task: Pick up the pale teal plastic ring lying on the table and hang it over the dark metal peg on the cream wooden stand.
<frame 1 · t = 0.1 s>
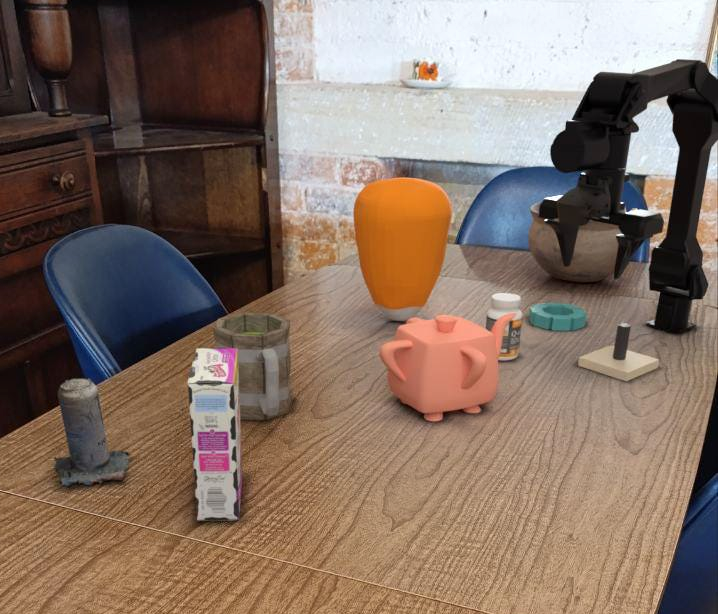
hand: (591, 272, 136), 15 cm above the table, tool pointing down, fingers open, 9 cm apart
peg stand: (617, 367, 141), on the table
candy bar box: (222, 499, 101), on the table
pill bottle: (500, 356, 145), on the table
grey upright cylinder: (96, 474, 106), on the table
ring: (556, 322, 161), on the table
mug: (260, 413, 123), on the table
ceramic bowl: (574, 279, 188), on the table
teapot: (445, 405, 126), on the table
orange egg-shaped ornament: (398, 322, 160), on the table
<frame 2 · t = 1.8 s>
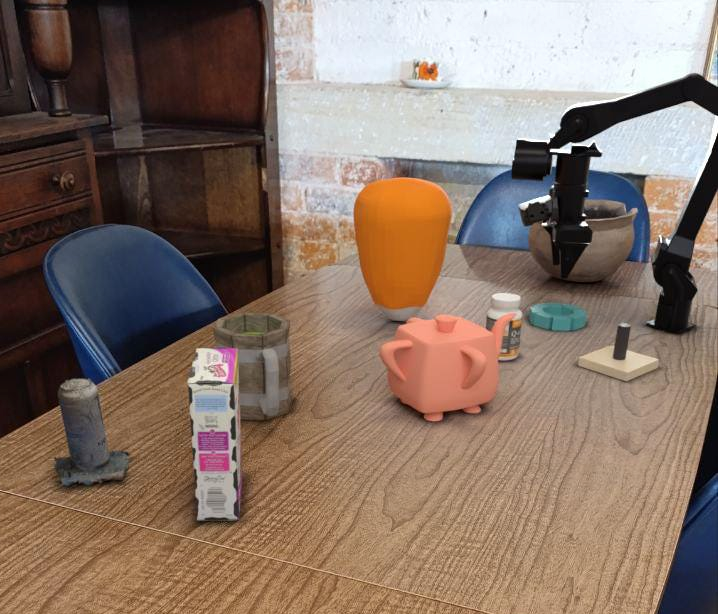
hand: (559, 271, 160), 8 cm above the table, tool pointing down, fingers open, 9 cm apart
nothing on the table moved.
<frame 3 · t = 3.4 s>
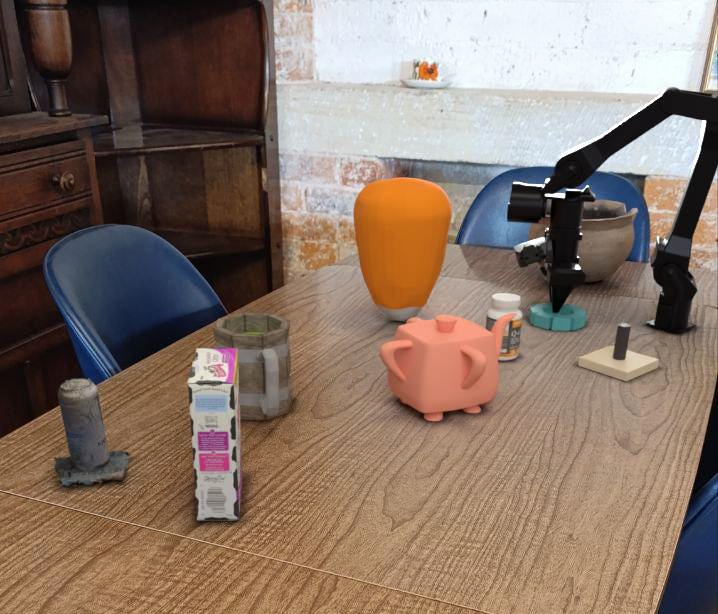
hand: (554, 310, 164), 1 cm above the table, tool pointing down, fingers closed on ring, 2 cm apart
ring: (556, 322, 161), on the table, touching gripper
everything else where it was.
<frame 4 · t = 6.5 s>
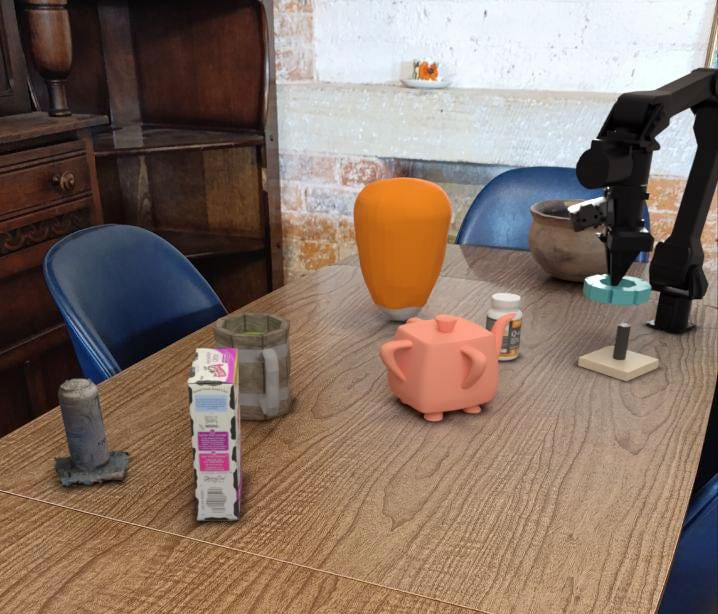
hand: (612, 283, 142), 12 cm above the table, tool pointing down, fingers closed on ring, 2 cm apart
ring: (615, 296, 139), point 11 cm above the table, touching gripper
everything else where it was.
when the fingers open (5 cm above the table, at t = 9.5 s): ring drops 3 cm, resting on peg stand.
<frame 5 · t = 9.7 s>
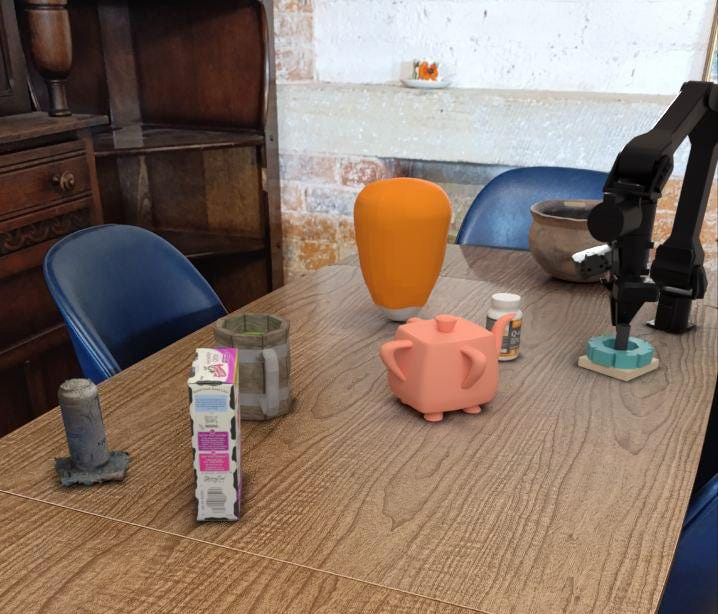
hand: (617, 329, 142), 5 cm above the table, tool pointing down, fingers open, 3 cm apart
ring: (618, 357, 140), point 1 cm above the table, touching peg stand
everything else where it was.
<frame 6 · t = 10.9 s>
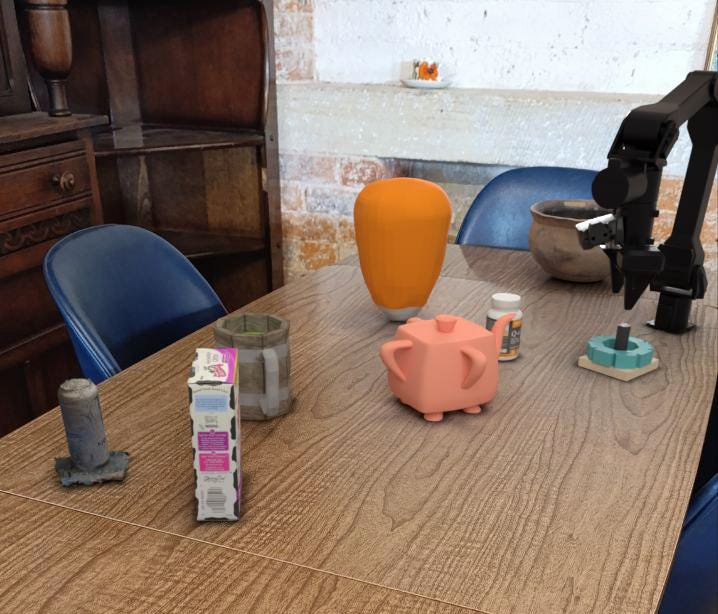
hand: (621, 301, 140), 10 cm above the table, tool pointing down, fingers open, 9 cm apart
nothing on the table moved.
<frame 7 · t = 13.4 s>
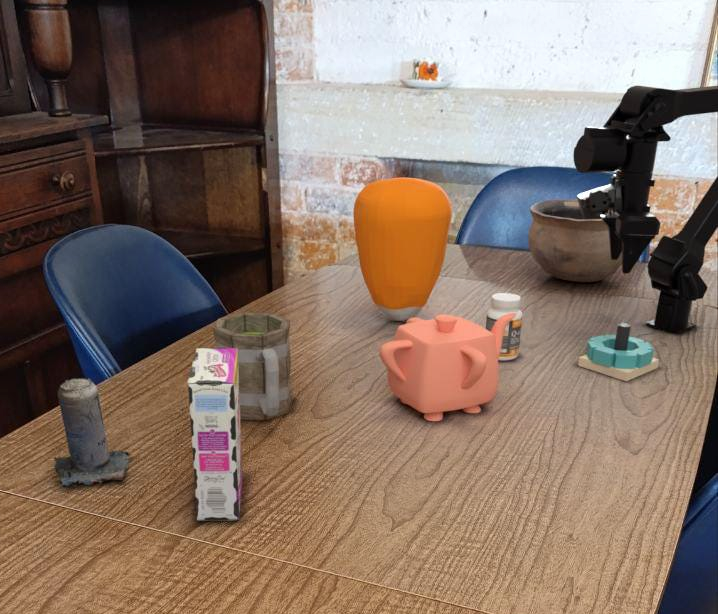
hand: (619, 266, 150), 12 cm above the table, tool pointing down, fingers open, 9 cm apart
nothing on the table moved.
at the end: ring 0.2 cm from the peg stand (horizontally); ring point 1.5 cm above the table; the gripper is holding nothing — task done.
